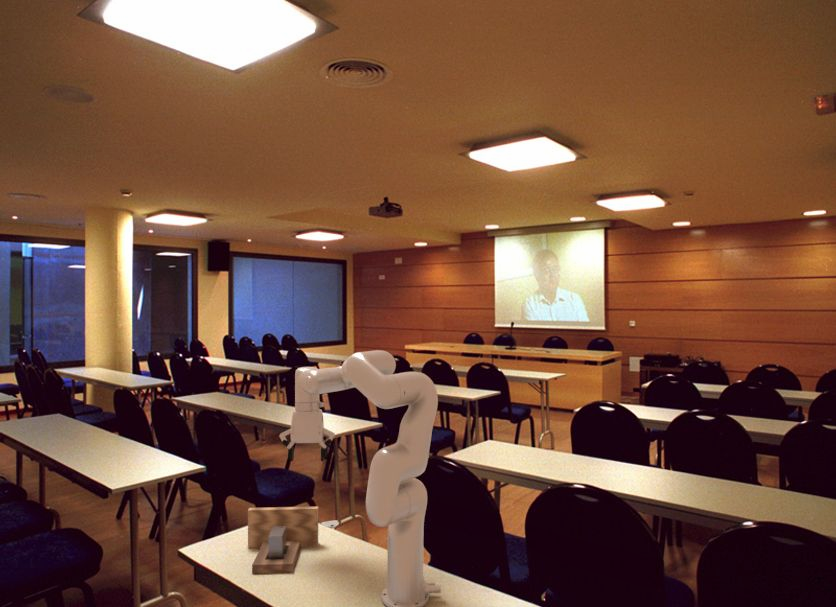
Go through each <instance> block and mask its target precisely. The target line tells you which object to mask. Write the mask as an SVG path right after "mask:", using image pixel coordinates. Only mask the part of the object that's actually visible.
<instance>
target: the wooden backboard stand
mask: <svg viewBox="0 0 836 607" xmlns="http://www.w3.org/2000/svg"><path fill="white" fill-rule="evenodd" d="M274 526H286V555H285V557H284V559H272V560H268V536H269V534H270V532H271V530H272V528H273V527H274ZM314 545H315V546H314ZM316 545H319V506H277V507H274V506H273V507H270V506H269V507H249V508H248V510H247V548H249V549H252V548H253V549H255V548H259V550H258V553H257V554H256V556H255V558H254V559H253V563H252V564H251V573H252V574H254V575H255V574H281V573H282V574H283V573H286V574H287V573H293V572H294V569H295V566H296V563H297V559H298V557H299V554H300V550H301V547H317V546H316Z"/></svg>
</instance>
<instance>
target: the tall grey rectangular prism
mask: <svg viewBox="0 0 836 607" xmlns="http://www.w3.org/2000/svg"><path fill="white" fill-rule="evenodd" d="M285 555H286V526H274V527H273V528H272V530H271V532H270V534H269V536H268V560H272V559H284V557H285Z"/></svg>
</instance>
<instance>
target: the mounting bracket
mask: <svg viewBox="0 0 836 607" xmlns="http://www.w3.org/2000/svg"><path fill="white" fill-rule="evenodd" d="M320 524H321V525H323V526H325V527H323V526H322V527H323V528H329V529H334V528H336V527H337V525H339V524H340V522H339V520H338V519H334V520H327V521H322V522H321V523H320Z"/></svg>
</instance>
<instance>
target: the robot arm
mask: <svg viewBox="0 0 836 607" xmlns="http://www.w3.org/2000/svg"><path fill="white" fill-rule="evenodd" d="M396 363H397V362H396V359H395V358H394V356H393V355H392V353H390V352H388V351H385V350H382V349H381V350H380V349H376V350H368V351H357V352H354V353H353V354H351V355H350V356H349V357H347V359H346V360H344V361H343V363H342V364H341V366H335V367H326V368H317V367H314V366H302V367H297V369H295V374H294V379H295V380H294V383H295V384H294V391H295V392H294V393H295V394H294V396H295V397H294V399H295V400H294V407H295V408H294V410H292V415H291V422H290V425H291V426H290V428H289V429H286V430H285V431H283V432H281V433H280V434H279V435H278V437H279V439H280V440H281V442H282V444H283V445H284V446H285V447H286V449H287V456H288V459H289V462H290V463H291V462H293V461H294V459H295V448H294V445H295V444H317V443H318V445H320V447H321V448H320V461H321V462H324V460H325V459H326V458H327V447H328V446H330V444H331V443H332V441H333V440H334V437H335V436H336V434H335V432H333V431H331V430H329V429H327V428H325V424H324V415H323V410H322V409H320V408H324V407H325V402H322V401H320V400H321V399H320V395H322V394H323V395H324V394H326V393H328V394H329V393H333V392H340V391H345V390H349V389H353V388H355V389H357V390H358V391H359V392H360V393H361V394H362V395H363V396H364V397H366V398H367V400H369V401H370V402H371V403H372V404H373V405H374V406H376V407H378V408H380V409H384V410H389V409H394V408H395V409H396V408H399V407H404V406H408V408H407V410H406V412H405V413H404V415H403V417H402V419H401V422H400V424H399V432H398V435H397V440H396V442H395V443H394V444H391V445H387V446H385V447H382V448H380V449H379V450H378V451H377V452H376V453H375V454H374V456H372V457H373V458H372V459H371V462H370V467H369V472H368V481H367V486H366V487H367V488H366V493H365V494H366V497H365V511H366V512H365V513H366V514H367V518H368V520H369V521H370V522H371V524H373V525H374V526H376V527H378V528H379V527H381V528H384V527H388V528H387V575H386V576H387V581H386V582H387V584H386V585H387V586H386V587H385V588H384V589H383V590H382V591H381V601H382V603H383V604H384V605H385V607H424V606H426V605H427V603H428V602H429V599H430V594H441V592H442V588H441V586H442V585H441V584H436V581H433V580H431V581H427V580H425V576H424V529H425V528H424V526H425V524H424V523H425V516H426V511H427V505H428V491H427V488H426V486H425V485H424V483H423V482H422V481H421V480H419V479H418V478H417V477H420V476H421V475H422V474H423V473H425V471H426V468H427V465H428V461H429V455H430V447H431V441H432V436H433V435H432V432H433V429H434V423H435V419H436V416H437V412H438V411H437V410H438V406H439V405H438V404H439V398H438V397H439V396H438V391H437V388H436V386H435V384H434V381H433V380H432V379H431V377H429V376H428V375H426V373H423V372H420V371H404V372H399V373H395V370H396V367H397V364H396ZM289 435H290V441H289V440H288V439H287V438H286V436H289ZM325 435H327V436H329V437H328V439H327V440H325V439H324V437H325Z"/></svg>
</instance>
